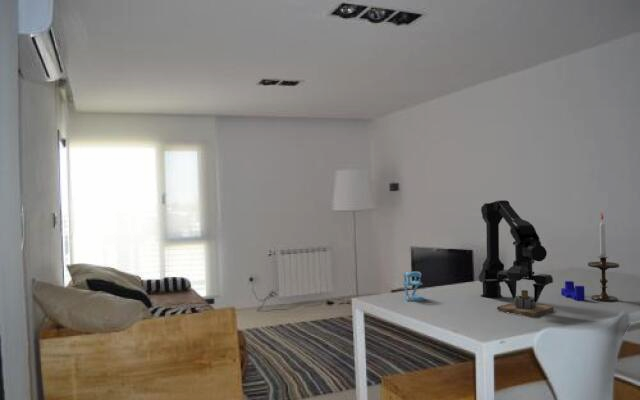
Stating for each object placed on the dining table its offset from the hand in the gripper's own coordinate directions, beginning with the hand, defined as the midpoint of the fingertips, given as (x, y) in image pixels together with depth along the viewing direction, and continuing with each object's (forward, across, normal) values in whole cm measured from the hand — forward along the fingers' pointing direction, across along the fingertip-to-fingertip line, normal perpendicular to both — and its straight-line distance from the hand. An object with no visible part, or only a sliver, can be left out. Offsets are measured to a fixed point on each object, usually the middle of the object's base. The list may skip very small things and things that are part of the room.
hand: (524, 300), depth 177 cm
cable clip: (+4, +1, +35) cm, 35 cm away
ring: (+2, 0, 0) cm, 3 cm away
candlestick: (+4, +11, +40) cm, 42 cm away
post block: (+4, 0, 0) cm, 4 cm away
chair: (+4, -43, -13) cm, 45 cm away
